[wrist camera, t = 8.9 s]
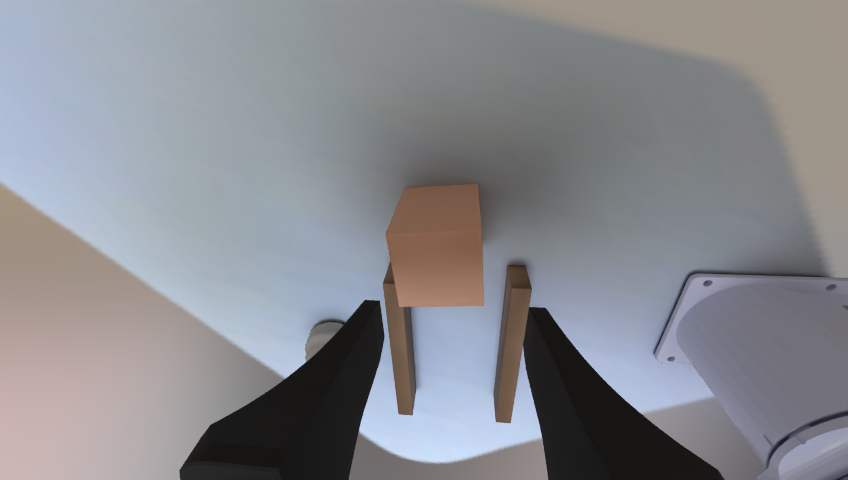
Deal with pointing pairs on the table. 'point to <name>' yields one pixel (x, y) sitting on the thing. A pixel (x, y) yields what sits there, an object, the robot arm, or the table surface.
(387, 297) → the walnut channel
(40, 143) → the table surface
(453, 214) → the terracotta block
